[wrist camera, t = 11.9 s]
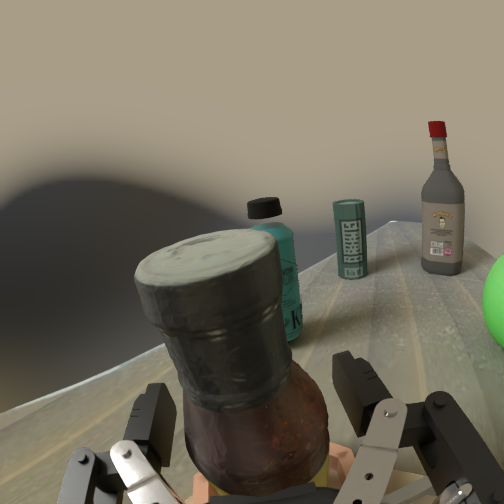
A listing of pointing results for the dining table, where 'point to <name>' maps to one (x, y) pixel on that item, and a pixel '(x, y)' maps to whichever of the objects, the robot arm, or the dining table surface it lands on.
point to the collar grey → (410, 492)
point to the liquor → (442, 211)
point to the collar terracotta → (338, 461)
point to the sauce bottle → (236, 363)
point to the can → (350, 238)
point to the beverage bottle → (288, 261)
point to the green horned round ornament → (495, 301)
